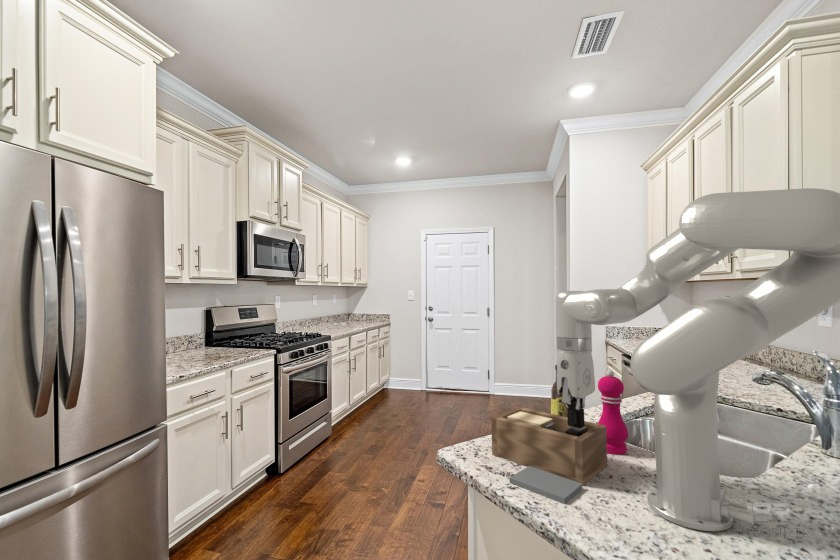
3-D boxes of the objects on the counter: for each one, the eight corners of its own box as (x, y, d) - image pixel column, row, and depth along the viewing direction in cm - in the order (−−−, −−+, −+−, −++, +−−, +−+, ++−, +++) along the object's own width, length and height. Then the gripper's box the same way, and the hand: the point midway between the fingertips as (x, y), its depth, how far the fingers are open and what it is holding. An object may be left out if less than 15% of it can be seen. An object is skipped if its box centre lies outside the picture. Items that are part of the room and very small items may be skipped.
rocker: (589, 444, 88) (588, 427, 89) (577, 452, 84) (577, 433, 84) (519, 426, 101) (519, 411, 102) (507, 432, 97) (506, 416, 97)
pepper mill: (633, 456, 94) (630, 373, 95) (601, 454, 95) (598, 372, 96) (623, 445, 101) (621, 368, 102) (594, 443, 102) (591, 367, 103)
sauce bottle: (560, 442, 103) (558, 367, 104) (546, 434, 109) (544, 363, 110) (580, 439, 105) (578, 365, 106) (566, 432, 111) (564, 362, 112)
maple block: (552, 429, 95) (552, 418, 95) (540, 435, 91) (540, 424, 91) (520, 421, 101) (520, 411, 101) (507, 426, 97) (507, 416, 97)
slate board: (582, 488, 78) (582, 483, 78) (564, 503, 73) (564, 498, 73) (529, 470, 87) (529, 465, 87) (509, 482, 81) (509, 477, 82)
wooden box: (607, 465, 89) (606, 425, 89) (583, 485, 80) (581, 441, 80) (520, 440, 105) (519, 406, 106) (492, 454, 96) (491, 417, 96)
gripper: (575, 349, 81) (578, 439, 80) (603, 343, 91) (605, 422, 90) (542, 346, 86) (544, 430, 85) (572, 340, 96) (574, 415, 96)
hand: (576, 426), depth 88 cm, fingers closed
